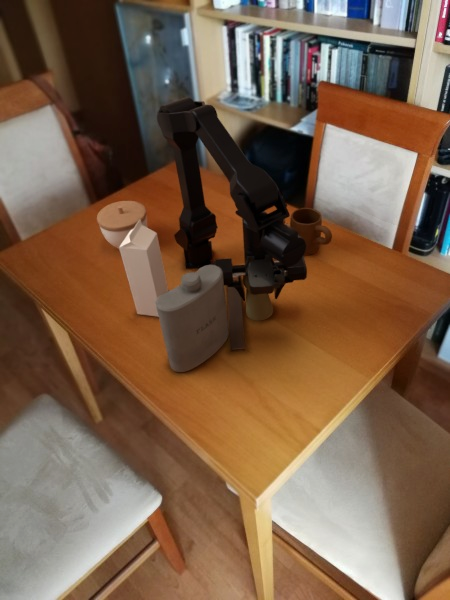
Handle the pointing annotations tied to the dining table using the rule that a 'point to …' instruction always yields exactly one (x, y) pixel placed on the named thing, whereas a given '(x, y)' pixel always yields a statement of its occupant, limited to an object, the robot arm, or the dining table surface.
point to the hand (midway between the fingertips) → (260, 299)
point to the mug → (310, 228)
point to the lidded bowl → (120, 220)
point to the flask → (194, 318)
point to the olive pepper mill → (257, 303)
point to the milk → (144, 268)
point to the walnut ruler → (235, 320)
